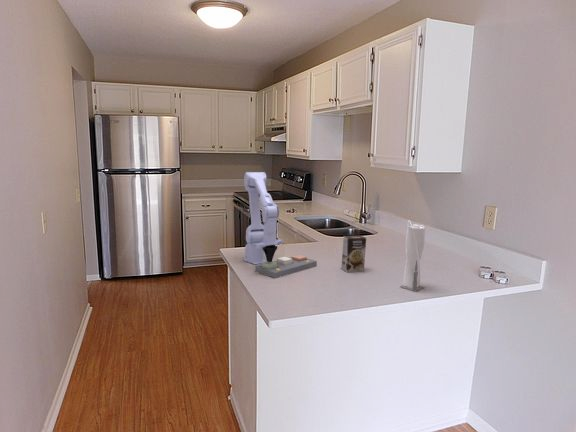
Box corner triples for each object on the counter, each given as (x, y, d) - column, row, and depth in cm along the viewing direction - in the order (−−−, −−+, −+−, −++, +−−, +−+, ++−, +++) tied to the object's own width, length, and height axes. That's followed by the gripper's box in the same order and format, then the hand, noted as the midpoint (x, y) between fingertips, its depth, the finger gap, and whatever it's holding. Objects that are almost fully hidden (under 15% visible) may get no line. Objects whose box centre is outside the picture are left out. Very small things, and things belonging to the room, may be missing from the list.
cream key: (277, 264, 189) (277, 258, 189) (284, 262, 193) (284, 256, 192) (284, 267, 186) (284, 260, 185) (292, 265, 189) (292, 258, 189)
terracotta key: (291, 262, 197) (291, 256, 196) (298, 260, 200) (298, 254, 200) (299, 264, 193) (299, 258, 193) (306, 262, 197) (306, 256, 196)
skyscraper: (396, 286, 168) (401, 220, 164) (406, 282, 174) (411, 218, 169) (415, 291, 162) (421, 224, 158) (424, 287, 168) (430, 221, 163)
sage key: (261, 268, 182) (261, 262, 182) (269, 266, 186) (269, 260, 185) (268, 271, 179) (269, 264, 178) (277, 269, 182) (277, 262, 182)
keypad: (255, 271, 183) (255, 265, 183) (296, 260, 203) (297, 255, 203) (275, 278, 174) (275, 272, 174) (316, 266, 194) (316, 260, 194)
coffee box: (346, 272, 185) (348, 238, 182) (341, 268, 191) (342, 235, 188) (364, 271, 188) (366, 237, 185) (358, 267, 194) (360, 234, 191)
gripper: (264, 235, 171) (263, 266, 174) (287, 231, 182) (286, 260, 184) (253, 233, 176) (252, 263, 179) (276, 229, 187) (276, 257, 189)
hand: (269, 261), depth 182 cm, fingers closed
